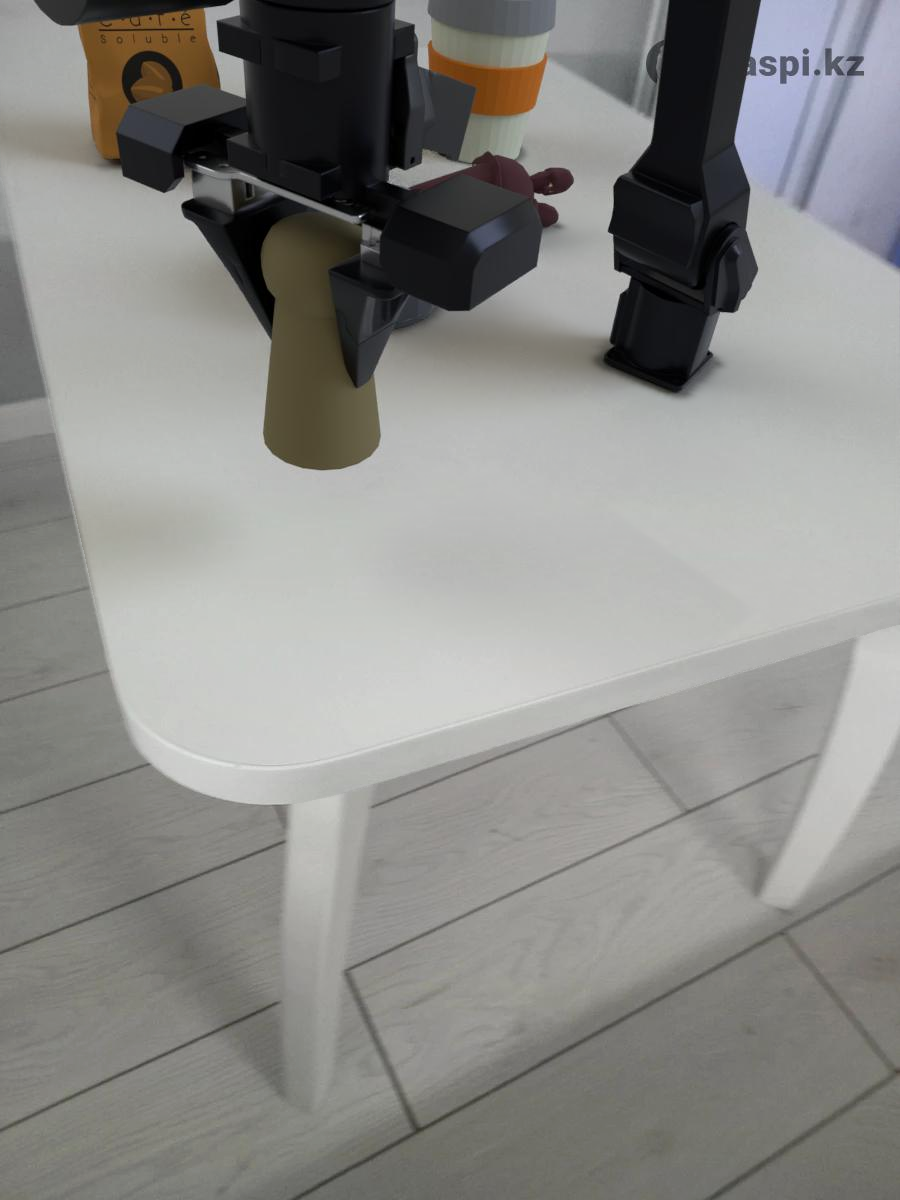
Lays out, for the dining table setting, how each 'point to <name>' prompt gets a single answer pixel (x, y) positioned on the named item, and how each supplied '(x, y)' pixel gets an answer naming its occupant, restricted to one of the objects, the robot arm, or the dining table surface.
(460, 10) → the reusable coffee cup
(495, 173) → the icecream
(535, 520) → the dining table surface
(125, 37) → the coffee package
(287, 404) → the olive pawn
